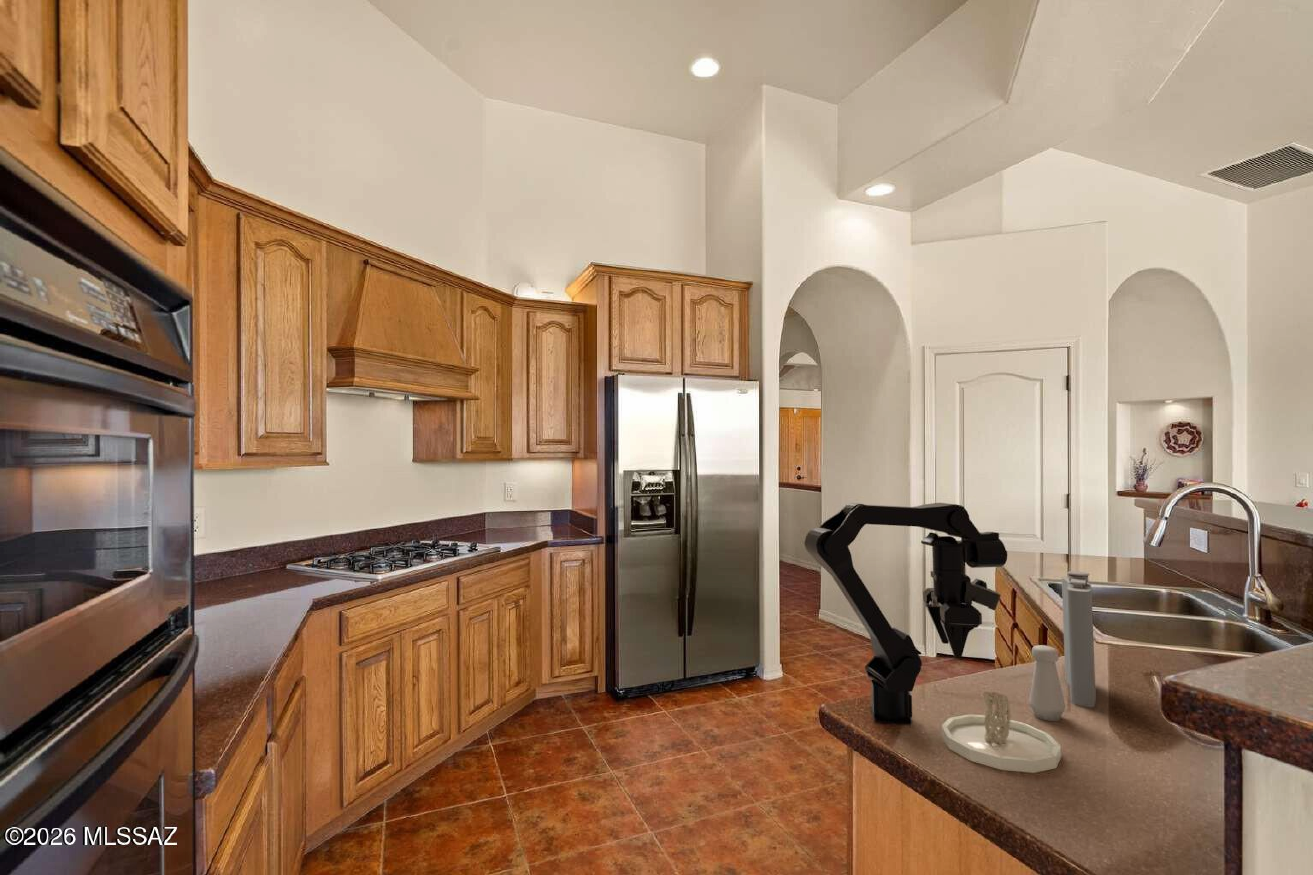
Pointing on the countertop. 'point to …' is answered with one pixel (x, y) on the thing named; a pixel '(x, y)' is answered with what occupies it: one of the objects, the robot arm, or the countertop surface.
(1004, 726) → the bracelet
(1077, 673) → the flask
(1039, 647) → the salt shaker
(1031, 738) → the ring dish
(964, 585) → the robot arm
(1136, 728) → the countertop surface
